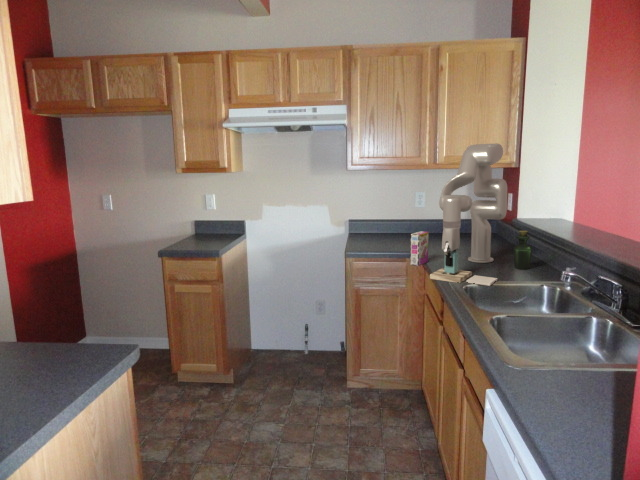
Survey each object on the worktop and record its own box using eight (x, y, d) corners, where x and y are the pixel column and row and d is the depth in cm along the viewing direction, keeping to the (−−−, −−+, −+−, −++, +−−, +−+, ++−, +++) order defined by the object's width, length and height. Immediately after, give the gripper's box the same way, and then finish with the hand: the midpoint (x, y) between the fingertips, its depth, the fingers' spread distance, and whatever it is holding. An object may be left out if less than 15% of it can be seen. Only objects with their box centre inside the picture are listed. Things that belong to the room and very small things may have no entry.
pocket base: (442, 272, 209) (442, 268, 209) (471, 275, 201) (471, 271, 200) (429, 278, 198) (429, 274, 198) (460, 282, 190) (460, 278, 189)
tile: (474, 277, 198) (474, 275, 198) (497, 280, 192) (497, 278, 191) (466, 282, 190) (466, 280, 190) (490, 285, 184) (490, 283, 184)
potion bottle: (533, 270, 207) (535, 232, 204) (514, 270, 208) (516, 232, 205) (528, 266, 215) (529, 229, 212) (510, 266, 216) (512, 230, 213)
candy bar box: (419, 266, 222) (419, 234, 219) (410, 265, 225) (410, 233, 223) (428, 262, 231) (429, 231, 228) (420, 261, 234) (420, 230, 231)
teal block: (448, 269, 202) (448, 250, 201) (458, 271, 200) (458, 251, 198) (444, 272, 199) (444, 252, 197) (454, 273, 196) (454, 253, 195)
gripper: (450, 221, 204) (450, 260, 208) (435, 227, 191) (435, 267, 195) (466, 222, 200) (466, 261, 203) (452, 228, 187) (452, 269, 190)
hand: (451, 264), depth 199 cm, fingers closed on teal block, 4 cm apart
